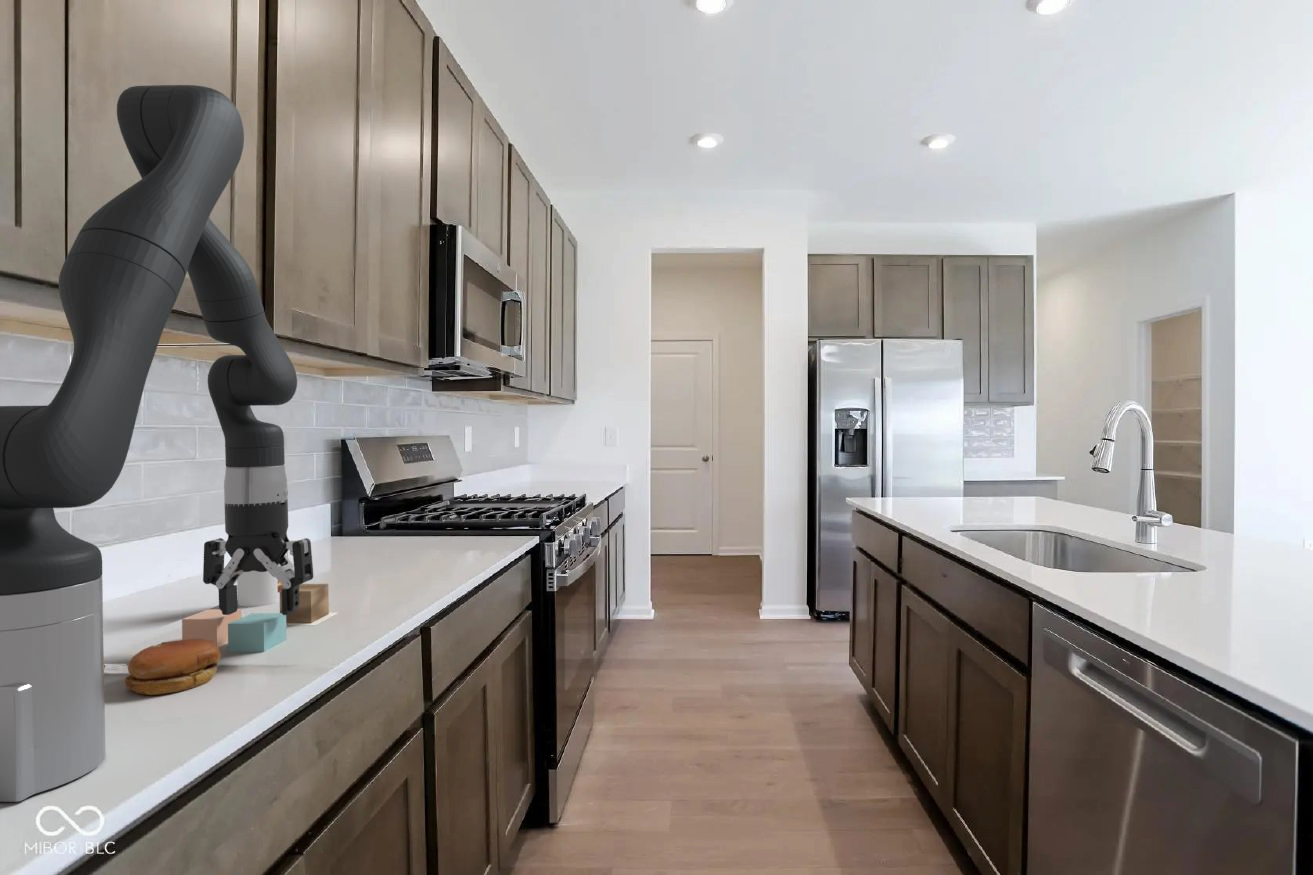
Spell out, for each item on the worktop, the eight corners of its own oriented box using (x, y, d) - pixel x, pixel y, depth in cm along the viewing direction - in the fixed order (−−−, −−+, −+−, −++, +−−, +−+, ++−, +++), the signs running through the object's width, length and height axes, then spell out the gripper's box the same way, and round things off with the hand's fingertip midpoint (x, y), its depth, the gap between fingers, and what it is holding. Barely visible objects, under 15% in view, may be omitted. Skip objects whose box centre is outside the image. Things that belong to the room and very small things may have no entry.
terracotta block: (217, 655, 90) (216, 619, 90) (182, 654, 90) (181, 619, 90) (241, 643, 95) (241, 609, 95) (208, 643, 95) (208, 609, 95)
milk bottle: (265, 613, 111) (263, 496, 110) (226, 611, 112) (224, 496, 112) (298, 602, 118) (297, 492, 118) (262, 600, 120) (260, 491, 119)
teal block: (264, 660, 88) (263, 623, 88) (228, 660, 88) (227, 623, 88) (286, 648, 93) (286, 613, 93) (252, 648, 93) (252, 613, 93)
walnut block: (311, 623, 101) (311, 591, 101) (280, 623, 101) (279, 591, 101) (328, 614, 106) (328, 583, 106) (298, 614, 106) (298, 583, 106)
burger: (178, 699, 75) (177, 659, 75) (104, 697, 76) (103, 658, 76) (239, 668, 85) (239, 633, 85) (173, 667, 86) (172, 632, 86)
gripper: (186, 502, 87) (190, 621, 88) (290, 501, 86) (293, 622, 87) (225, 495, 95) (228, 605, 95) (321, 495, 94) (324, 606, 94)
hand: (259, 613), depth 91 cm, fingers open, 8 cm apart
